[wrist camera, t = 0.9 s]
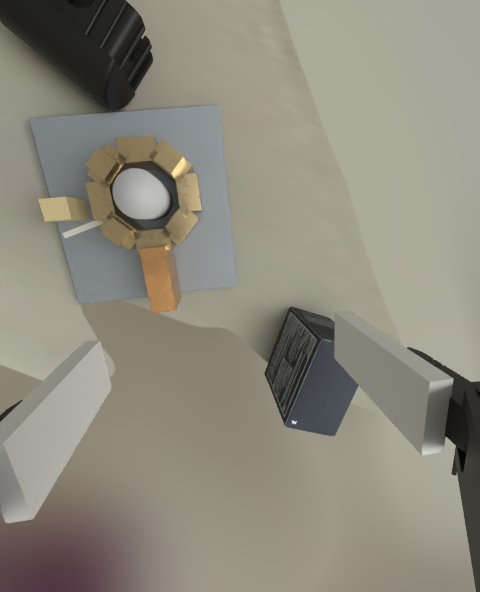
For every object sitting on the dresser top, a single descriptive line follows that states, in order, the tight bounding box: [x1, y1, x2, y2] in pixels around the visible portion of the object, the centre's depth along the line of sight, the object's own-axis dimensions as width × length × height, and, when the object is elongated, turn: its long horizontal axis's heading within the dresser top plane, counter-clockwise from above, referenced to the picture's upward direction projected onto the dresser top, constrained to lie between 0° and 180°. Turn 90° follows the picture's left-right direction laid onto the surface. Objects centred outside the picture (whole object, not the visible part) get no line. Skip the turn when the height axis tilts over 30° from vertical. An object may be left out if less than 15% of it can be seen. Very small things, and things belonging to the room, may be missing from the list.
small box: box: [265, 307, 359, 437], centre depth 33 cm, size 11×6×10 cm, turn 161°
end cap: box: [0, 0, 153, 111], centre depth 24 cm, size 10×7×7 cm
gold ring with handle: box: [85, 136, 203, 313], centre depth 27 cm, size 16×10×5 cm, turn 5°
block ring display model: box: [29, 105, 237, 304], centre depth 27 cm, size 19×18×8 cm
